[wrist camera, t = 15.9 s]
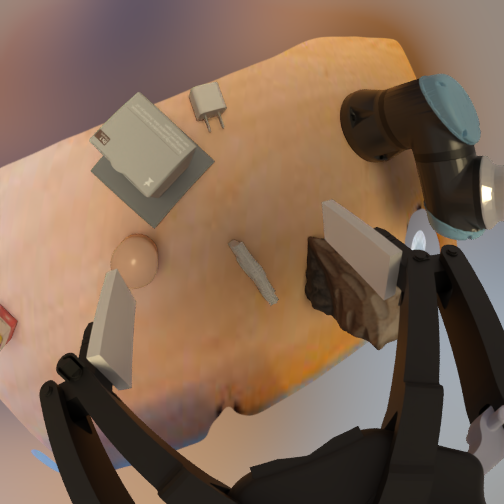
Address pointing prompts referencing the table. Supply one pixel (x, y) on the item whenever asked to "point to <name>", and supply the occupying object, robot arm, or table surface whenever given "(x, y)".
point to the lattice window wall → (253, 271)
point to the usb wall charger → (207, 102)
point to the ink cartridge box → (6, 327)
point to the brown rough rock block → (349, 296)
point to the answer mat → (147, 206)
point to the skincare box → (144, 146)
